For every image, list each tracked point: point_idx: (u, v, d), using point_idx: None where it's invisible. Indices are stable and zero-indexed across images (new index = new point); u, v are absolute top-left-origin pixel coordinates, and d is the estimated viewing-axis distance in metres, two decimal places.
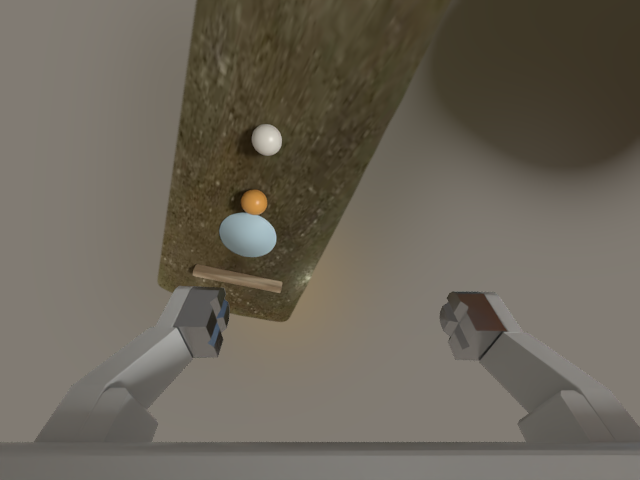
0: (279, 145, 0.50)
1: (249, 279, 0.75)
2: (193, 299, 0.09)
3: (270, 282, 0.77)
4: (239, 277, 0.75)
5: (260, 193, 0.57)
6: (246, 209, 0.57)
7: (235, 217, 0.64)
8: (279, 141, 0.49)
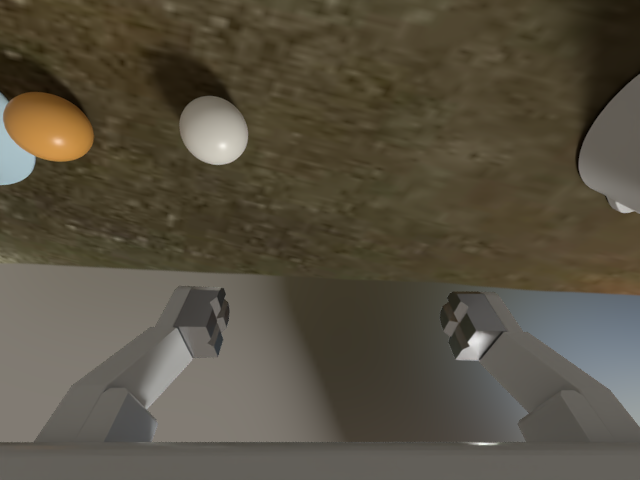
0: (220, 164, 0.24)
1: None
2: (193, 299, 0.09)
3: None
4: None
5: (87, 139, 0.24)
6: (10, 122, 0.21)
7: None
8: (226, 162, 0.24)
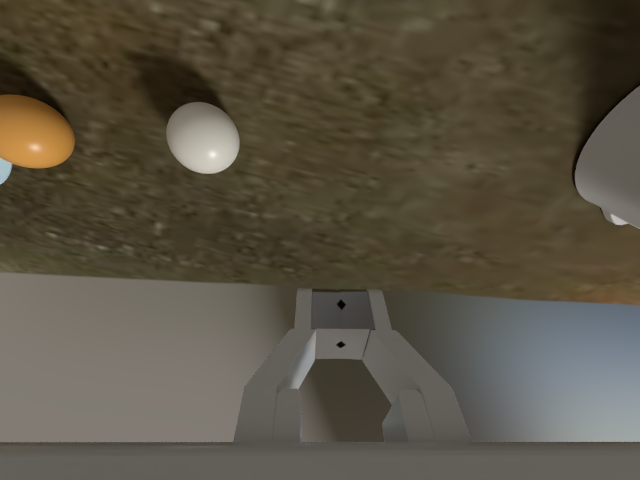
0: (210, 173, 0.23)
1: None
2: (319, 301, 0.09)
3: None
4: None
5: (67, 145, 0.22)
6: None
7: None
8: (216, 171, 0.23)
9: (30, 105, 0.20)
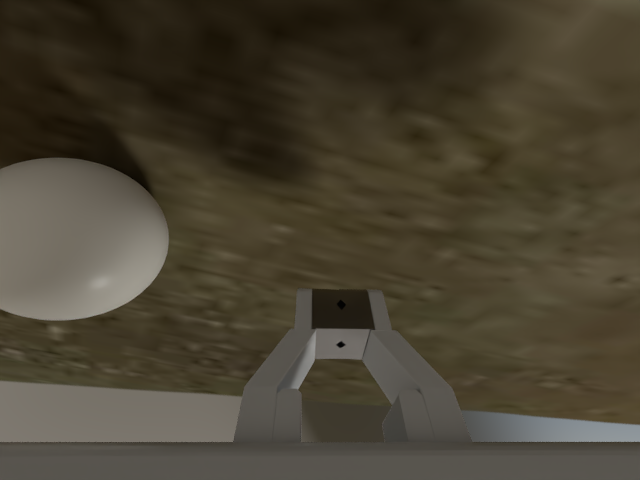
0: None
1: None
2: (319, 301, 0.09)
3: None
4: None
5: None
6: None
7: None
8: (109, 309, 0.10)
9: None
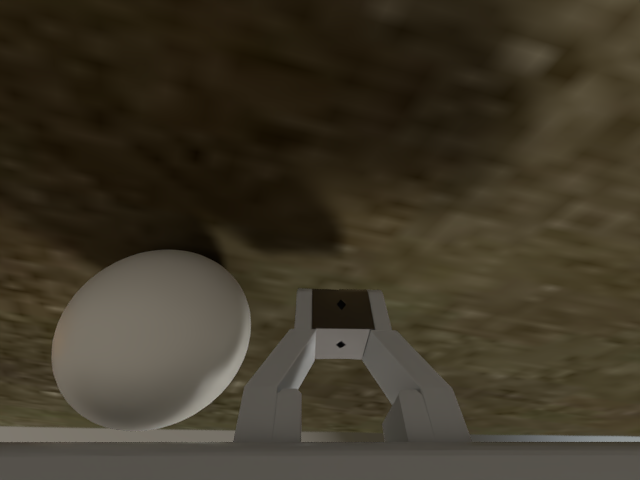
0: None
1: None
2: (319, 301, 0.09)
3: None
4: None
5: None
6: None
7: None
8: None
9: None
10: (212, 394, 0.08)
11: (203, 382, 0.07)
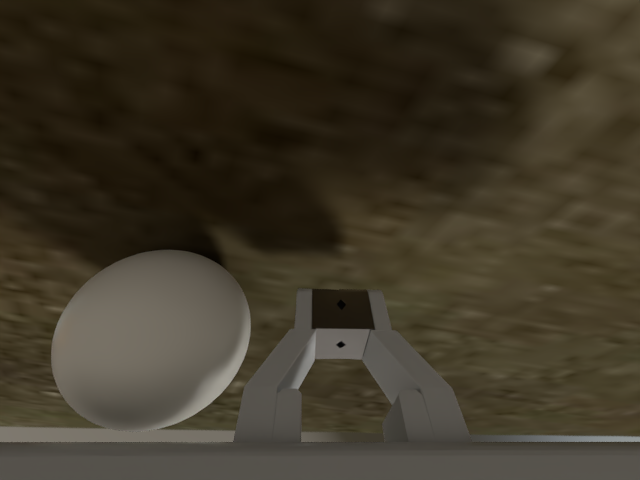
0: None
1: None
2: (319, 301, 0.09)
3: None
4: None
5: None
6: None
7: None
8: None
9: None
10: (212, 394, 0.08)
11: (202, 382, 0.07)
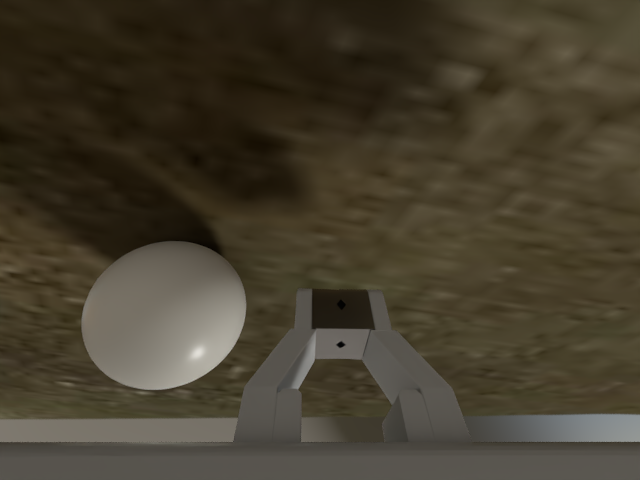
0: None
1: None
2: (319, 301, 0.09)
3: None
4: None
5: None
6: None
7: None
8: None
9: None
10: (214, 358, 0.09)
11: (206, 346, 0.09)
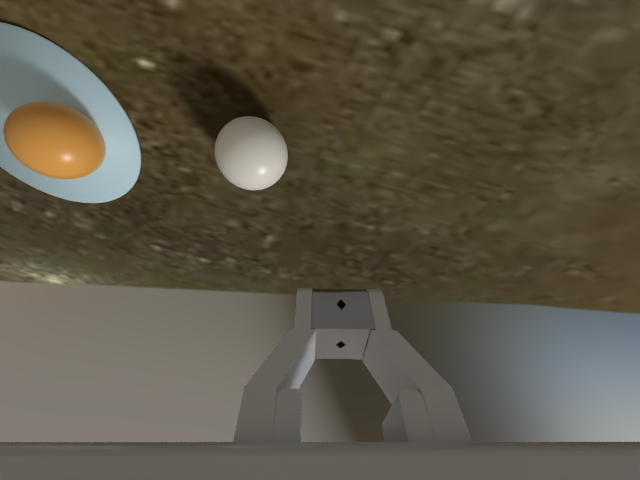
0: None
1: None
2: (319, 301, 0.09)
3: None
4: None
5: None
6: None
7: (83, 81, 0.20)
8: None
9: None
10: (275, 169, 0.20)
11: (273, 158, 0.19)
